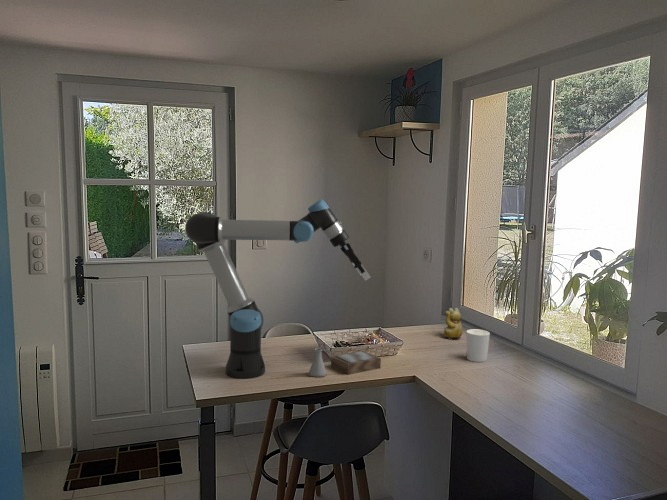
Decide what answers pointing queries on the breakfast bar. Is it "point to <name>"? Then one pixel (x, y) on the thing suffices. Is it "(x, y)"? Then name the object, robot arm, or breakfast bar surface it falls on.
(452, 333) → the decorative figurine
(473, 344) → the candle holder
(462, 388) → the breakfast bar surface
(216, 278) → the robot arm
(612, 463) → the breakfast bar surface
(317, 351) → the flask
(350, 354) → the walnut stand
